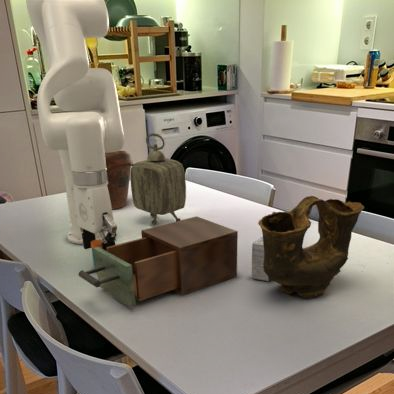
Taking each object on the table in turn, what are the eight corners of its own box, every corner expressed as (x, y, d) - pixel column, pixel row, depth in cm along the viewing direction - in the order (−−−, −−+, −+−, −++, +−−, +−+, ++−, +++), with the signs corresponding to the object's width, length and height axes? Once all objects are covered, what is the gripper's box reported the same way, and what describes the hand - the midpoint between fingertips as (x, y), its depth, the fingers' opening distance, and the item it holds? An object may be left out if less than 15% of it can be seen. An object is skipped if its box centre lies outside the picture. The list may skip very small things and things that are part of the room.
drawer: (106, 316, 100) (100, 274, 96) (75, 293, 109) (68, 254, 105) (188, 288, 111) (187, 249, 106) (153, 269, 120) (151, 232, 115)
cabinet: (181, 295, 110) (180, 247, 104) (144, 275, 120) (141, 230, 114) (236, 276, 118) (237, 231, 112) (197, 258, 128) (196, 216, 122)
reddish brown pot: (87, 197, 180) (80, 143, 171) (142, 198, 177) (138, 143, 168) (69, 211, 165) (60, 153, 156) (129, 213, 162) (124, 153, 153)
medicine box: (268, 282, 114) (270, 245, 110) (250, 278, 117) (251, 242, 112) (282, 270, 120) (285, 234, 116) (265, 267, 122) (267, 231, 118)
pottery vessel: (329, 267, 121) (339, 182, 110) (364, 283, 113) (379, 192, 103) (244, 293, 110) (247, 201, 99) (277, 312, 102) (284, 214, 91)
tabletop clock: (187, 223, 152) (184, 133, 139) (166, 231, 146) (161, 138, 133) (152, 214, 160) (146, 129, 147) (131, 222, 154) (123, 133, 141)
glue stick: (91, 269, 123) (87, 241, 120) (104, 265, 125) (101, 238, 122) (98, 273, 121) (95, 245, 117) (112, 269, 123) (108, 242, 119)
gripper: (57, 174, 116) (69, 247, 124) (93, 187, 104) (103, 266, 112) (87, 170, 119) (96, 240, 128) (125, 181, 108) (132, 258, 116)
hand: (100, 252), depth 120 cm, fingers open, 9 cm apart
